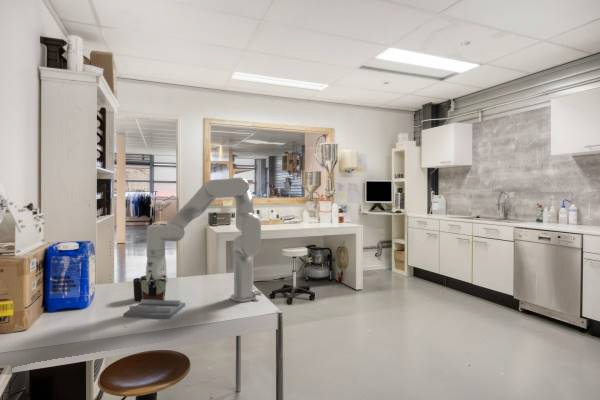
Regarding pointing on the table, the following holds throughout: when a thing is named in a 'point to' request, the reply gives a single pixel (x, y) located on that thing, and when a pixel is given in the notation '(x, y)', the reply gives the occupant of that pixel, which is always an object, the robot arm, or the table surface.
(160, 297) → the food container
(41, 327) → the table surface
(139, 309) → the rail plate
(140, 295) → the pen holder
